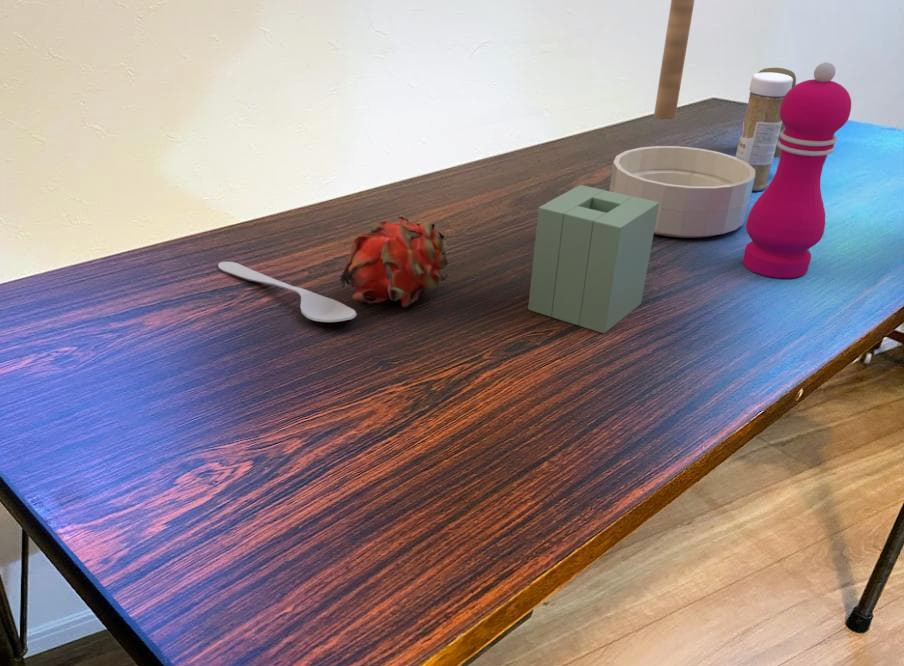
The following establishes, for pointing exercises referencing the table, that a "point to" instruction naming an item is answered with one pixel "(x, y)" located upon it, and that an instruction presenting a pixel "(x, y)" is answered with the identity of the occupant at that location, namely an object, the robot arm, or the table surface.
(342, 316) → the spoon
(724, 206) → the bowl
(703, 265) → the table surface
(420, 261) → the dragon fruit
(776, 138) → the sprinkles bottle
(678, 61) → the cooking stick
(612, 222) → the utensil block
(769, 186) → the pepper mill
